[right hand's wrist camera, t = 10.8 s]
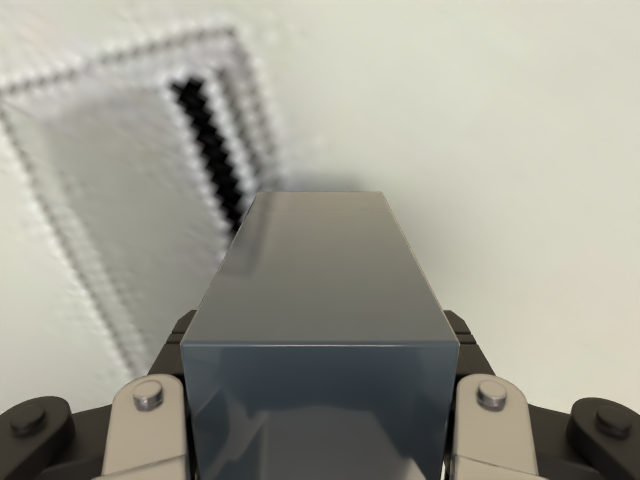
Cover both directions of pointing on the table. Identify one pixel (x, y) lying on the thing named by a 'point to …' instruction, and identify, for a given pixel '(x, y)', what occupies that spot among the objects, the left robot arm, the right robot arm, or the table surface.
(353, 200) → the block
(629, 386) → the table surface
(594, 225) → the table surface
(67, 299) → the table surface
